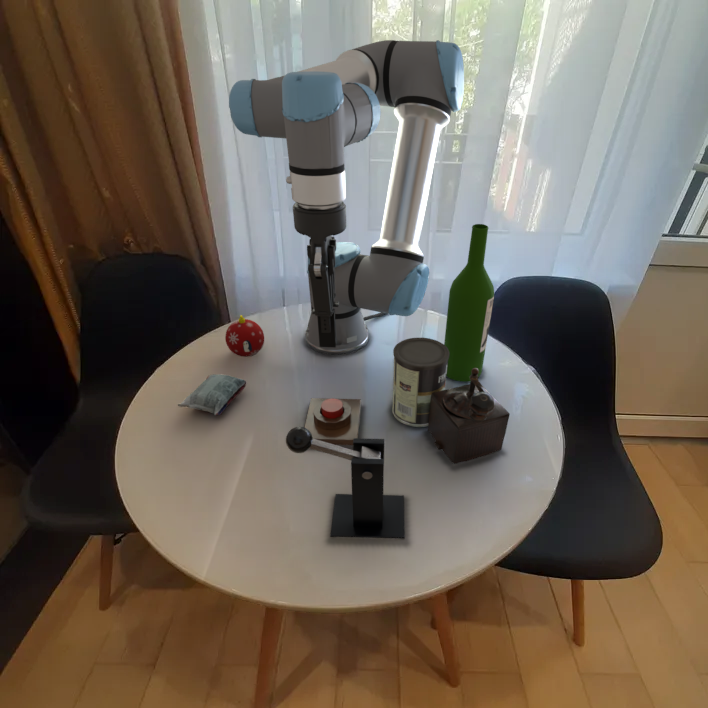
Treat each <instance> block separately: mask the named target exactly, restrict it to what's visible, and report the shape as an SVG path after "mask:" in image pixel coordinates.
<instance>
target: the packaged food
mask: <svg viewBox="0 0 708 708" xmlns="http://www.w3.org/2000/svg"><path fill="white" fill-rule="evenodd" d="M247 384H248V383H247V380H245V379H242V378H239V377H237V376H231V375H229V374H228V375H227V374H221V373H217V374H216V373H212V374H210V375H208V376H207V377H206V378H205V379H204V380H203V381H202V382H201V383H200V384H199V385H198V386H197V387H196V388H195V389H194V390H193V391H192V392H191V393H190V394H189V395H188V396H186V397H185V399H183V401H182V402H180V403H177V406H178V407H180V408H188V409H193V410H198V411H203V412H209V413H210V414H213V415H214V416H220V415H221V414H222V413H223V412H224V411H225V410H226V409H227V407H228V406H229V405H230V403H232V402H233V401H234V400H235V398H236V397H237V396H239V395H240V393H241V392H242V391H244V389H245V387H246V385H247Z"/></svg>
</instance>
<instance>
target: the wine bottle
mask: <svg viewBox="0 0 708 708" xmlns="http://www.w3.org/2000/svg"><path fill="white" fill-rule="evenodd" d="M489 229H490V228H489V226H488V225H486V224H483V223H475V224H473V225H472V226H471V233H470V234H471V235H470V243H469V250H468V254H467V255H468V256H467V263H466V265H465V266H464V267H463V269H461V271H460V273H458V275H456V276H455V278H454V280H453V281H452V283H451V285H450V288H449V292H448V303H447V312H446V323H445V332H444V341H443V342H444V343H443V344H444V345H445V346H446V347H447V348H448V350H449V359H448V365H447V374H446V378H447V379H450V380H452V381H456V382H461V383H465V382H466V383H468V382H471V380H470V378H469V377H470V375H471V374H472V373H471V370H472V369H473V368H478V370H479V373H478V378H479V377H481V375H482V373H483V367H484V361H485V356H486V355H485V354H486V349H487V348H486V347H487V343H488V336H489V332H490V331H489V330H490V324H491V318H492V313H493V305H494V299H495V286H494V283H493V282H492V280H491V278H490V275H489V274H488V271H487V269H486V267H485V257H486V249H487V241H488V235H489V234H488V232H489Z"/></svg>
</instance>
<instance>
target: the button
mask: <svg viewBox="0 0 708 708" xmlns="http://www.w3.org/2000/svg"><path fill="white" fill-rule="evenodd" d="M326 399H327V400H325V401H323V402H322V404H321V410H322V415H323V416H324V417H326V418H333V419H334V418H337V417H340V416H341V415H342V414H343V403H342V402H341V401H340V400H338V399H339V398H326Z"/></svg>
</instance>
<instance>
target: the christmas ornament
mask: <svg viewBox="0 0 708 708" xmlns="http://www.w3.org/2000/svg"><path fill="white" fill-rule="evenodd" d="M224 338H225V343H226V347H227V348H228V350H229V351H230V352H232V353H233V354H234V355H235V356H238V357H243V358H249V357H252V356H254V355H256V354H258V353H259V352H260V351H261V350H262V349H263V347H264V344H265V333H264V331H263V329H262V327H261V325H259V323H257V322H256V321H254V320H251V319H248V318H247V319H246V318H245V317H244V316H243V315H242V314H240V315H239V318H238V320H235V321H233V322H232V323H231V324H229V326H228V328H227V329H226V331H225V337H224Z"/></svg>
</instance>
